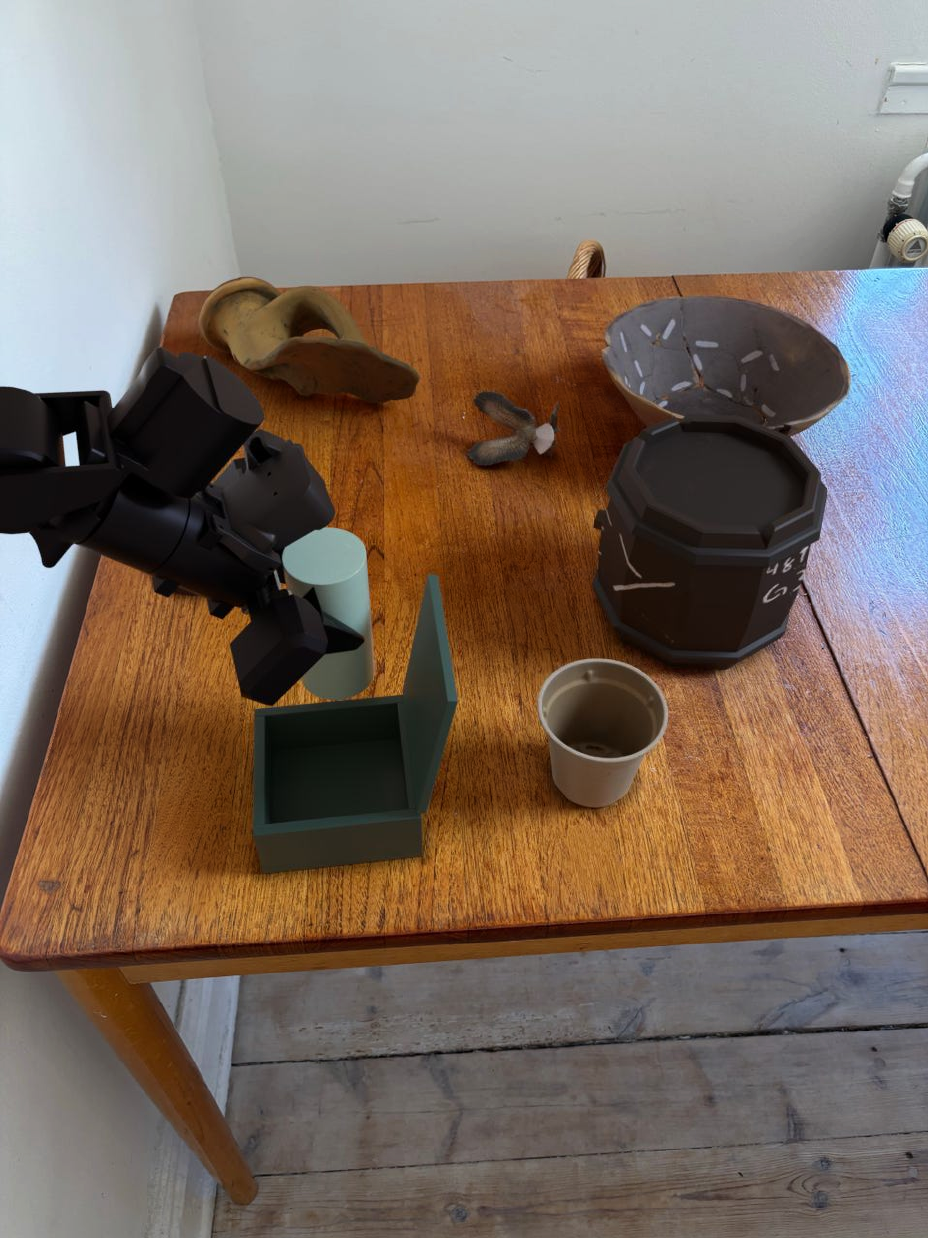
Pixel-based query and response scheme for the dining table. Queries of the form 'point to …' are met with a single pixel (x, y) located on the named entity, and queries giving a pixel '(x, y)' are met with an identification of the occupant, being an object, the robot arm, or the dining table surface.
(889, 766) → the dining table surface
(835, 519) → the dining table surface
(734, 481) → the black polygonal canister
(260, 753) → the box
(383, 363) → the brown looped sculpture
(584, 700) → the flower pot
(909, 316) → the dining table surface
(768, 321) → the bowl
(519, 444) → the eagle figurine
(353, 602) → the pale green cylinder
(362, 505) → the dining table surface
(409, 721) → the box lid
